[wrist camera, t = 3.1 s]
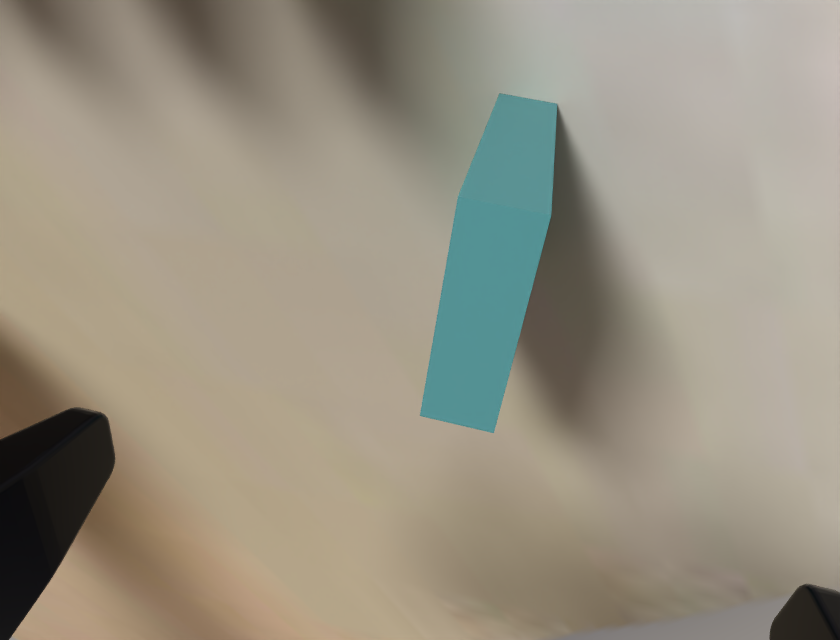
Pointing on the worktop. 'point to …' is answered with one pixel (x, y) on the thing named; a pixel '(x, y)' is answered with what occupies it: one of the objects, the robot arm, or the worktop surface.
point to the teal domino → (492, 263)
